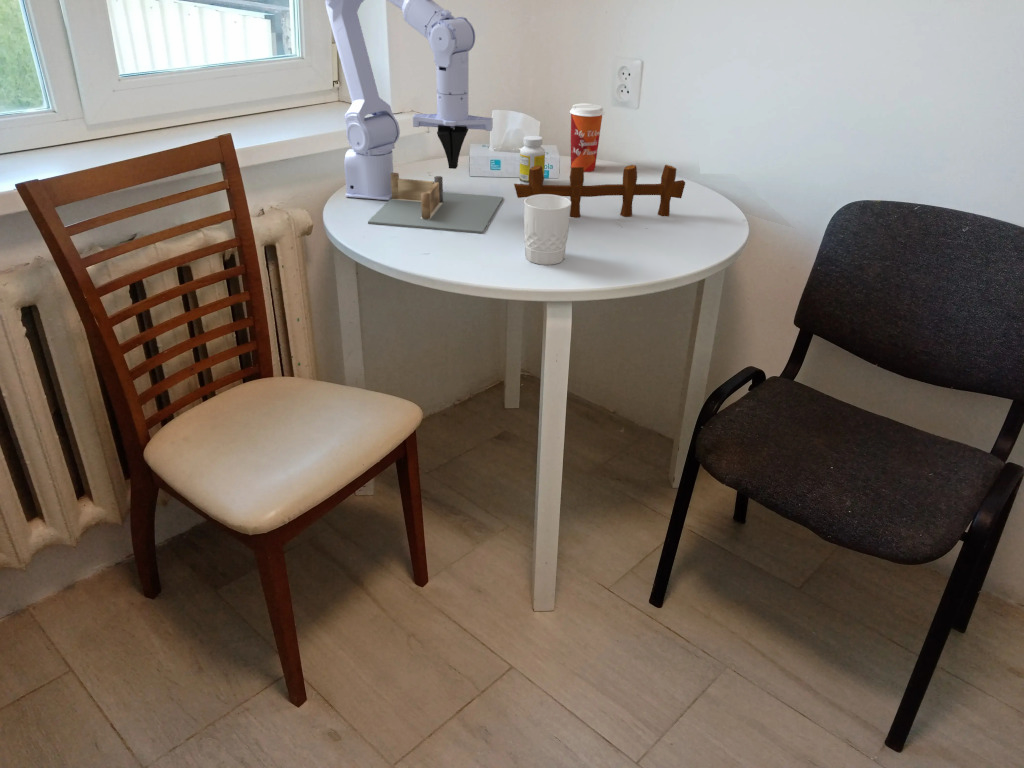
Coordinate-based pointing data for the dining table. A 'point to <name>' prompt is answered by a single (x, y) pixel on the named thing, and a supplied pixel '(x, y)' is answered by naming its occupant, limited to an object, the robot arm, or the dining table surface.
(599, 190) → the fence
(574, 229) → the dining table surface
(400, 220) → the board
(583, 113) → the paper cup
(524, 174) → the supplement bottle
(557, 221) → the white cup
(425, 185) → the fence base
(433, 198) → the fence gate
